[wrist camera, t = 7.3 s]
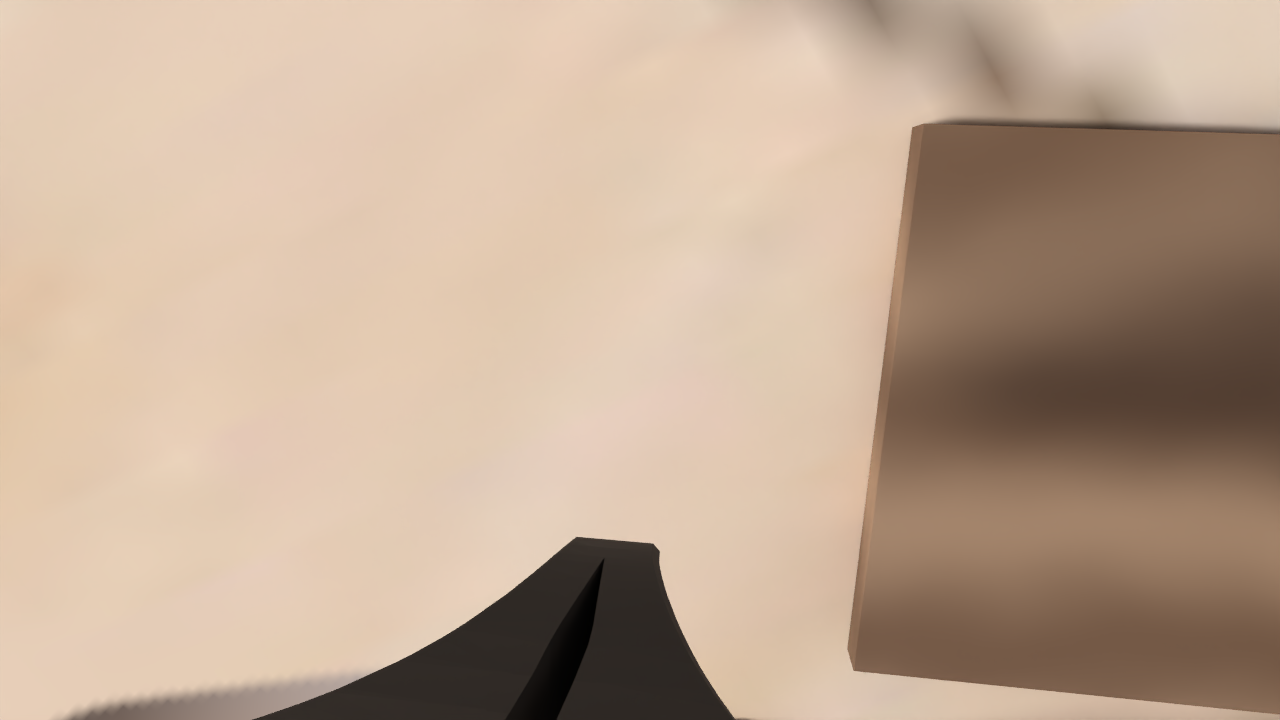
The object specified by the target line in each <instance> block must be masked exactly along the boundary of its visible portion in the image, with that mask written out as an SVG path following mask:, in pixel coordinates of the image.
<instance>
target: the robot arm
mask: <svg viewBox="0 0 1280 720" xmlns="http://www.w3.org/2000/svg"><path fill="white" fill-rule="evenodd" d="M659 554H660V551H659V550H658V549H657V548H656V547H655V545H654V544H651V543H639V542H628V541H617V540H605V539H594V538H582V537H576V538H575V539H573V540H572V541H571V542H570V543H568V544H567V545H566V546H565V547H563V548H562V549H561V550H560V551H559V552H558V553H556V554H555V555H554V556H553V557H552V558H550V559H549V560H548V561H547V562H546V563H545V564H543V565H542V566H541V567H540V568H539V569H537V570H536V571H535V572H534V573H533V574H531V575H530V576H529V577H528V578H526V579H525V580H524V581H523V582H521V583H520V584H519V585H518V586H516V587H515V588H514V589H513V590H511V591H510V592H509V593H508V594H506V595H505V596H503V597H502V598H501V599H499V600H498V601H496V602H495V603H494V604H492V605H491V606H489V607H488V608H486V609H485V610H484V611H482V612H481V613H479V614H478V615H477V616H475V617H474V618H472V619H471V620H469V621H468V622H467V623H465V624H463V625H462V626H460V627H459V628H457V629H456V630H454V631H452V632H451V633H449V634H447V635H446V636H444V637H442V638H441V639H439V640H437V641H435V642H433V643H432V644H430V645H428V646H426V647H424V648H423V649H421V650H419V651H417V652H415V653H414V654H412V655H410V656H408V657H406V658H404V659H402V660H400V661H398V662H396V663H394V664H391V665H389V666H387V667H385V668H383V669H381V670H378V671H376V672H374V673H372V674H370V675H367V676H365V677H363V678H361V679H359V680H356V681H354V682H352V683H350V684H348V685H346V686H343V687H341V688H339V689H336V690H334V691H331V692H329V693H326V694H324V695H321V696H318V697H316V698H314V699H311V700H308V701H305V702H303V703H300V704H297V705H294V706H292V707H289V708H286V709H283V710H280V711H277V712H274V713H272V714H268V715H266V716H263V717H260V718H257V719H253V720H735V719H734V717H733V716H732V714H731V713H730V712H729V710H728V709H727V707H726V706H725V705H724V703H723V702H722V700H721V699H720V698H719V696H718V695H717V693H716V692H715V690H714V689H713V687H712V685H711V684H710V682H709V681H708V679H707V678H706V676H705V674H704V673H703V671H702V669H701V668H700V666H699V664H698V662H697V661H696V659H695V657H694V655H693V653H692V651H691V649H690V647H689V645H688V643H687V641H686V639H685V637H684V635H683V633H682V631H681V629H680V627H679V624H678V622H677V620H676V617H675V615H674V612H673V609H672V607H671V604H670V602H669V599H668V596H667V593H666V590H665V587H664V583H663V580H662V576H661V571H660V566H659Z"/></svg>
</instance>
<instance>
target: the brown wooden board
mask: <svg viewBox="0 0 1280 720" xmlns="http://www.w3.org/2000/svg"><path fill="white" fill-rule="evenodd" d="M848 652H849V656H850V659H851V663H852V666H853V670H854V671H861V672H870V673H880V674H890V675H900V676H910V677H919V678H929V679H939V680H949V681H959V682H968V683H978V684H988V685H998V686H1007V687H1017V688H1027V689H1037V690H1047V691H1056V692H1066V693H1076V694H1086V695H1095V696H1105V697H1115V698H1125V699H1135V700H1144V701H1154V702H1164V703H1174V704H1184V705H1193V706H1203V707H1213V708H1223V709H1232V710H1242V711H1252V712H1262V713H1272V714H1280V134H1251V133H1217V132H1184V131H1150V130H1117V129H1083V128H1049V127H1016V126H982V125H949V124H922V125H919V126H916V127H912V135H911V143H910V151H909V159H908V167H907V175H906V183H905V191H904V199H903V207H902V215H901V223H900V231H899V239H898V247H897V255H896V263H895V271H894V280H893V288H892V296H891V304H890V312H889V320H888V328H887V336H886V344H885V352H884V360H883V368H882V376H881V384H880V392H879V400H878V408H877V416H876V424H875V432H874V440H873V448H872V456H871V464H870V472H869V480H868V488H867V496H866V505H865V513H864V521H863V529H862V537H861V545H860V553H859V561H858V569H857V577H856V585H855V593H854V601H853V609H852V617H851V625H850V633H849V641H848Z"/></svg>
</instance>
